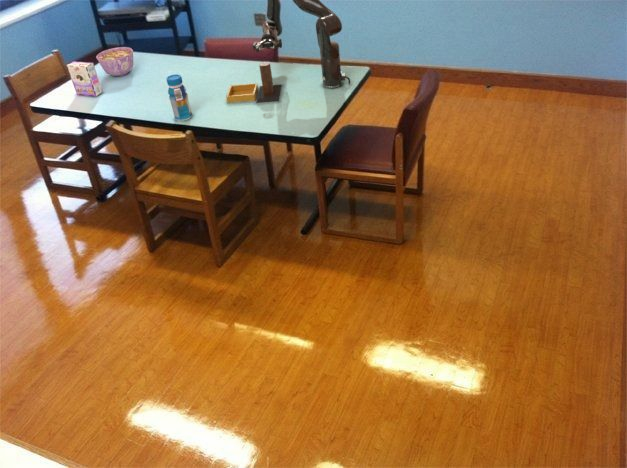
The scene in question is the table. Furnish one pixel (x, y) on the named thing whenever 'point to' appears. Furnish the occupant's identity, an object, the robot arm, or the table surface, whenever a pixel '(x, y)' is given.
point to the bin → (242, 92)
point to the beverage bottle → (178, 98)
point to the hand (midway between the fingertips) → (266, 49)
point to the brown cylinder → (266, 78)
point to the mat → (271, 98)
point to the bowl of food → (116, 60)
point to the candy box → (84, 78)
